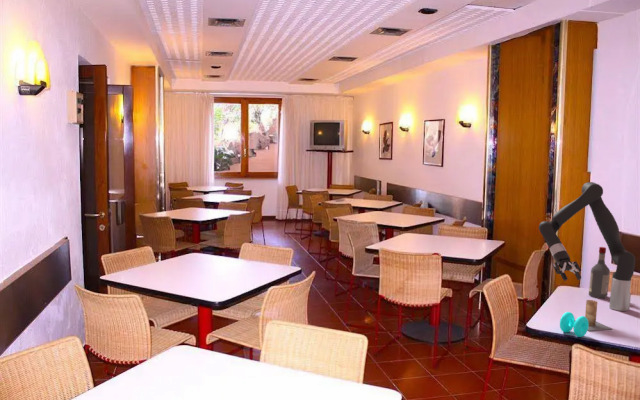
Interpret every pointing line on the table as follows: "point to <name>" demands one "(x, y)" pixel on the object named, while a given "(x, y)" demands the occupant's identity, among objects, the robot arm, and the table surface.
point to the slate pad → (598, 327)
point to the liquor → (599, 277)
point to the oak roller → (591, 312)
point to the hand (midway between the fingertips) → (572, 279)
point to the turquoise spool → (574, 324)
